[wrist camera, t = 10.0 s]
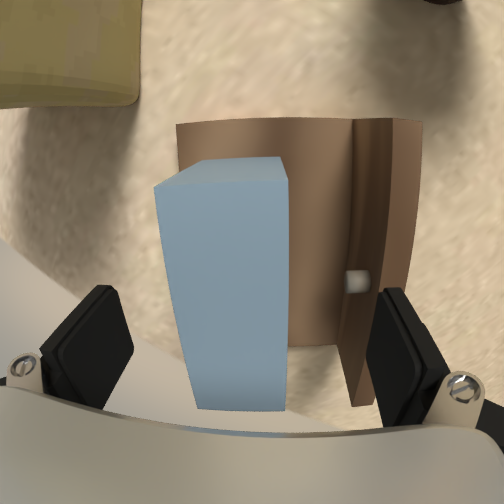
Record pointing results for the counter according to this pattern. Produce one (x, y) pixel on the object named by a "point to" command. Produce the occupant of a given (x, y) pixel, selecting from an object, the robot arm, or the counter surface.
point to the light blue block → (230, 278)
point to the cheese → (69, 53)
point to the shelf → (333, 218)
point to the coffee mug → (442, 1)
